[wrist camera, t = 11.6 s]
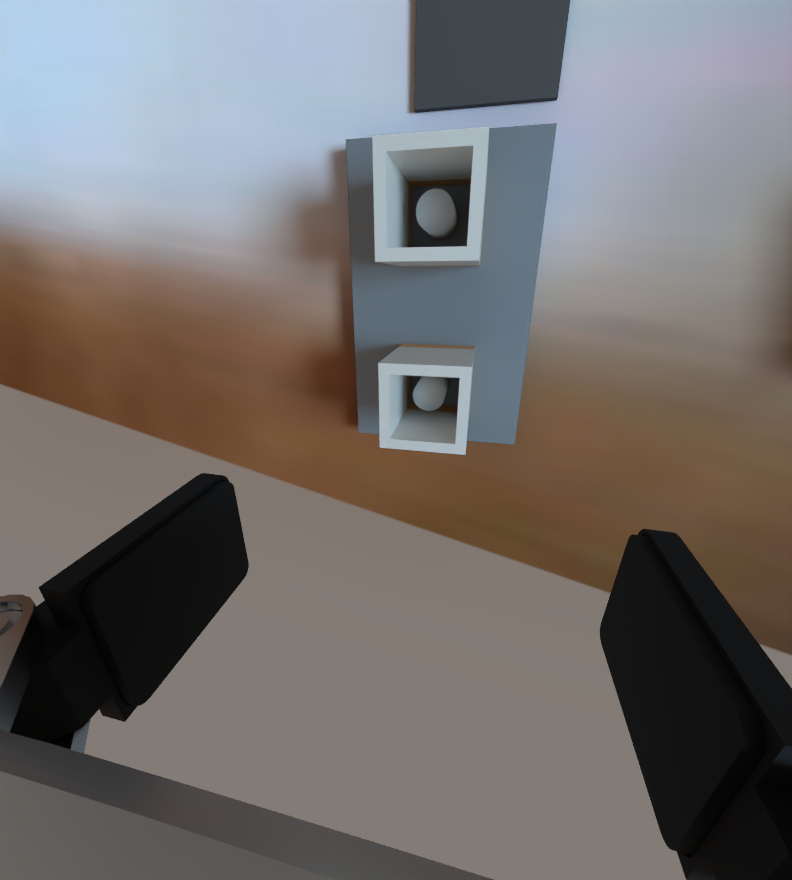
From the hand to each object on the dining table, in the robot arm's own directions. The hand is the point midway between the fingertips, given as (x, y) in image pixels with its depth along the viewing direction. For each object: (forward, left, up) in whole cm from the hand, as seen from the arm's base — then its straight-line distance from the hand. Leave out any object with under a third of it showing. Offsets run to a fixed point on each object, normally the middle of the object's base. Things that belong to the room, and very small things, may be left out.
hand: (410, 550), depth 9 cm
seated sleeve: (-9, -2, -20) cm, 22 cm away
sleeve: (+1, -2, -20) cm, 20 cm away
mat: (-19, 0, -21) cm, 29 cm away
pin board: (-4, -2, -21) cm, 22 cm away
